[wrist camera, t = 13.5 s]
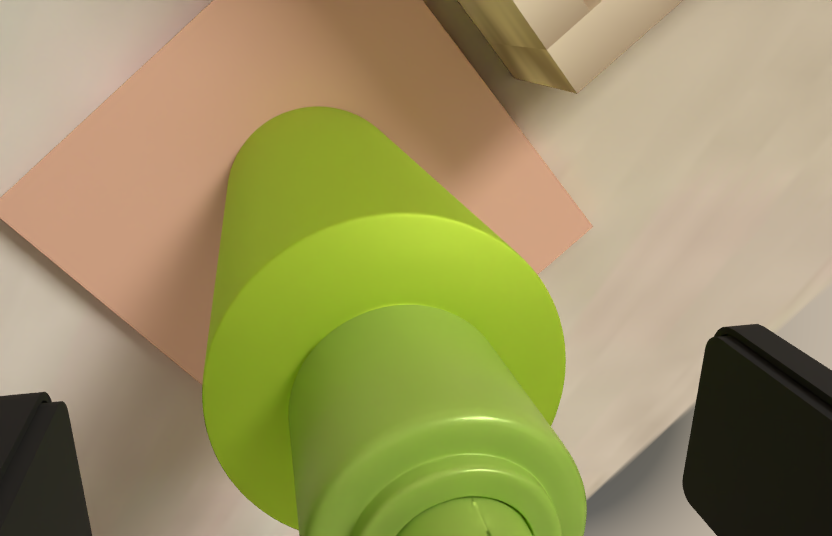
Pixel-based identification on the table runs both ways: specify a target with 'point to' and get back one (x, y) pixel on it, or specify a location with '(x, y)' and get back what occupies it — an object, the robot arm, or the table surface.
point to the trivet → (237, 120)
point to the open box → (563, 35)
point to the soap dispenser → (379, 348)
